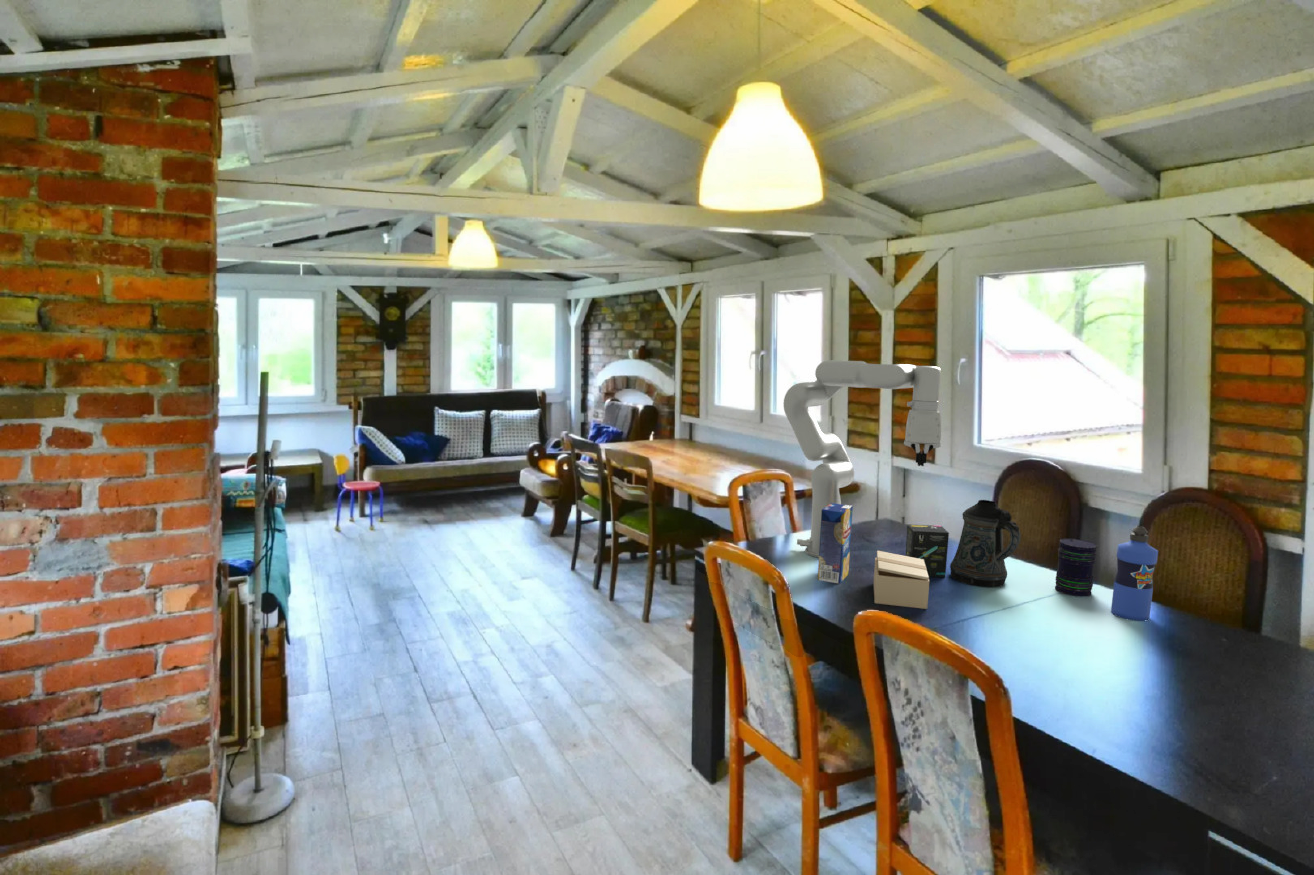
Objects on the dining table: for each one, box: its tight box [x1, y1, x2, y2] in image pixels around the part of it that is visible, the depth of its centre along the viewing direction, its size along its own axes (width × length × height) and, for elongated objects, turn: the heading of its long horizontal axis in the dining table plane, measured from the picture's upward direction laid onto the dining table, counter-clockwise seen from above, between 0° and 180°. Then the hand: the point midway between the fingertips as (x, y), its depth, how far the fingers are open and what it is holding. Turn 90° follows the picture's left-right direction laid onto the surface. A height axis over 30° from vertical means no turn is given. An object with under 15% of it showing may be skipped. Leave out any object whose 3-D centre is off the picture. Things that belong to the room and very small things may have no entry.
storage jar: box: [1054, 538, 1098, 598], centre depth 224 cm, size 10×10×15 cm
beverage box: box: [817, 503, 854, 584], centre depth 231 cm, size 7×11×22 cm, turn 153°
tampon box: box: [905, 524, 950, 578], centre depth 239 cm, size 11×9×15 cm
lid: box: [876, 550, 930, 581], centre depth 216 cm, size 13×18×1 cm
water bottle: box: [1110, 525, 1159, 622], centre depth 205 cm, size 9×9×25 cm
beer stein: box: [949, 499, 1022, 588], centre depth 232 cm, size 16×19×25 cm
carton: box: [873, 557, 930, 610], centre depth 217 cm, size 14×18×8 cm
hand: (920, 465), depth 232 cm, fingers closed
